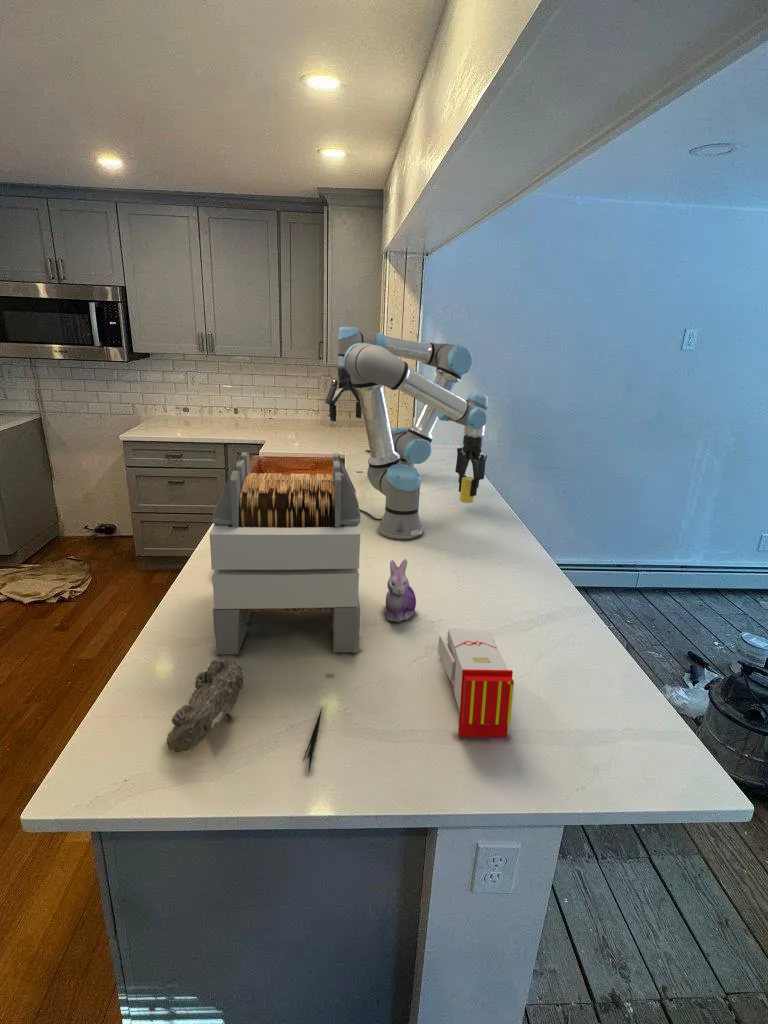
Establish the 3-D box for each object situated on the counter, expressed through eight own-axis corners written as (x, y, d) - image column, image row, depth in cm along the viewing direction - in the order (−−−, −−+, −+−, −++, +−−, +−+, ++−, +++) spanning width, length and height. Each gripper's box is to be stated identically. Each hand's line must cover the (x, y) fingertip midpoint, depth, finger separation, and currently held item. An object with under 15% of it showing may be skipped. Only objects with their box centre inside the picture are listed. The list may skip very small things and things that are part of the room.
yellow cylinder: (466, 503, 221) (468, 481, 218) (456, 499, 225) (459, 477, 222) (476, 501, 224) (478, 479, 221) (466, 497, 228) (469, 475, 225)
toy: (488, 613, 130) (523, 677, 101) (484, 667, 133) (517, 744, 104) (435, 612, 130) (455, 676, 101) (432, 666, 133) (451, 743, 103)
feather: (331, 679, 122) (336, 673, 122) (307, 777, 96) (313, 769, 95) (324, 675, 122) (329, 669, 121) (298, 772, 95) (304, 764, 95)
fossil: (192, 660, 117) (244, 628, 112) (224, 691, 120) (276, 661, 115) (142, 746, 98) (202, 712, 93) (182, 779, 101) (242, 748, 96)
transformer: (234, 586, 158) (226, 442, 144) (351, 584, 161) (355, 445, 148) (213, 657, 126) (200, 481, 112) (359, 653, 130) (365, 483, 116)
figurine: (392, 627, 141) (395, 572, 136) (374, 608, 149) (376, 556, 144) (425, 619, 145) (429, 566, 140) (405, 601, 154) (408, 550, 149)
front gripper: (499, 439, 211) (491, 498, 219) (462, 430, 224) (456, 486, 232) (485, 441, 207) (478, 501, 214) (449, 431, 220) (443, 488, 228)
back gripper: (328, 369, 218) (328, 423, 225) (376, 366, 234) (374, 417, 242) (316, 367, 223) (316, 420, 230) (364, 365, 239) (362, 415, 247)
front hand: (467, 493), depth 223 cm, fingers closed on yellow cylinder, 5 cm apart
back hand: (346, 419), depth 236 cm, fingers open, 13 cm apart
